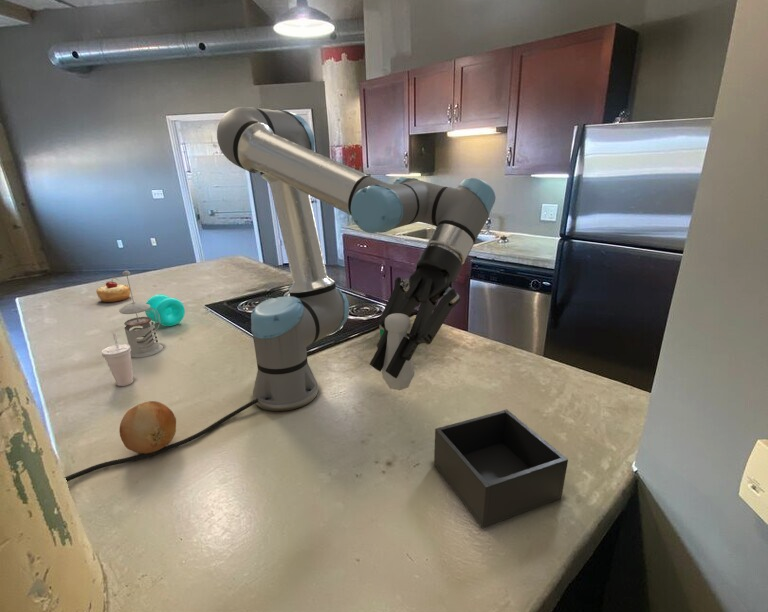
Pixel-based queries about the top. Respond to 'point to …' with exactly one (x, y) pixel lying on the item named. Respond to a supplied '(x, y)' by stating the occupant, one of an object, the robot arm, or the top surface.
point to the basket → (498, 466)
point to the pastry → (113, 292)
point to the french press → (140, 329)
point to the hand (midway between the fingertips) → (383, 371)
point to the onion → (147, 427)
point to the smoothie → (119, 362)
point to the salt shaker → (396, 332)
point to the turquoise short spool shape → (165, 310)
